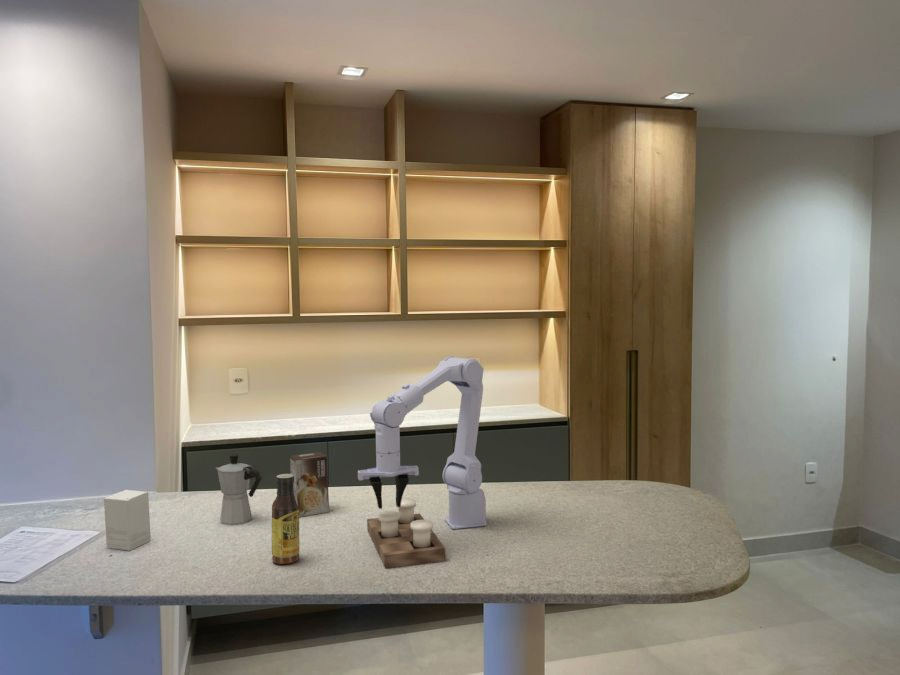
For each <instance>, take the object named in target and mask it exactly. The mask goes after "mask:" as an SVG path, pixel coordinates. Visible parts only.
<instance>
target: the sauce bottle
mask: <svg viewBox="0 0 900 675" xmlns="http://www.w3.org/2000/svg"><path fill="white" fill-rule="evenodd" d="M275 482H276V497H275V499H274V501H273V502H272V506H271V555H272V557H271V559H272V562H273V563H275V564H276V565H287V564H292V563H295V562H297V561H298V560H299V558H300V517H299V508H298V506H297V503H296V500H295V496H294V491H293V483H294V475H293V474H291V473H281V474H278V475H276V476H275Z"/></svg>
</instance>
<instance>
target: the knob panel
mask: <svg viewBox="0 0 900 675" xmlns="http://www.w3.org/2000/svg"><path fill="white" fill-rule="evenodd" d="M416 520H425V518H424V517H423V515H422V514H421V513H414V521H416ZM366 522H367V523H366V526H367V530H368V531H367V532H368V535H369V537H370V539H371V541H372V543H374V544H373V546H374V545H375V546H374V547H375V550H376V552H377V554H378V556H379V559H380V558H381V559H380V561H381V560H382V561H381V563H382V565H383V567H384V569H391V567H393V568H398V567H399V566H400V567H407V566H408V567H409V566H415V564H416V565H422V564H423V563H424V564H431V562H432V563H439V561H440V562H446V547H445V545H444V544H443V543H442V542H441V541H440V539H439V538H438V536H437V535H436V534H435V532H434V530H433V529H431V530H430V538H431V545H430V546H428V547H425V548H418V547H415V546H414V545H413V530H411V526H410V524H411V523H400V522H399V520H398V535H397V536H396V537H392V538H385V537H382V536H381V521H379V517H375V518H373V517H372V518H367V519H366ZM400 567H399V568H400Z"/></svg>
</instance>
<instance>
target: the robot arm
mask: <svg viewBox="0 0 900 675" xmlns="http://www.w3.org/2000/svg"><path fill="white" fill-rule="evenodd" d="M483 375H484V367H483V365H482V364H481V363H480V361H479V360H477V359H475V358H463V357H455V356H453V355H451V356H450V355H449V356H448V357H447V356H446V358H444V359H443V360H441V361H439V363H438V366H436V367H435V368H434V369H433V370H432V371H430V372H429V373H428V374H426V375H425V376H424V377H423V378H421V380H419V381H418V382H417V383H416V384H414V383H404V384H402V385H401V389H399V390H398V391H396V392H395V393H394V394H390V395H389V396H387V399H385V400H379V401H377V402H376V403H375V404H374V405H373V407H372V410H371V412H370V413H369V417H370V420H371V421H372V422H373V424H374V425H373V426H374V429H375V457H376V459H375V460H376V467H371V468H367V469H366V468H365V469H360V470H357V479H358V481H359V482H360V481H364V480H368V481H369V482H370V484H371V487H372V490H373V492H374V495H375V499H376V502H377V508H378V509H380V510H381V509H383V499H382V490H383V486H382V485H383V483H382V480H381V479H383V478H393V477H394V479H395V506H396V505H397V507H396V508H398V507H400V506H401V500H402V499H403V496H404V493H405V490H406V487H407V486H408V484H409V482H410V477H409V476H419V475H420V471H419V466H418V465H401V447H400V446H401V445H400V444H401V443H400V442H401V439H400V437H401V435H400V434H401V433H400V432H401V431H400V426H401V425H402V423H403V422H404V420H405V417H406V416H407V414H409V413H410V412H411V411H413V410H414V409H416V408H417V407H418V406H419V405H421V404H422V403H423V402H424V396H426V395H427V394H429V393H430V392H433V391H434V390H435V389H437V388H438V387H440V386H442V385H443V384H444V383H446V382H449V383H451V384H452V385H454V387H456V388H457V390H459V392H460V393H461V398H460V406H459V413H458V420H457V428H456V436H455V437H456V438H455V444H454V452H453V453H452V454H450V455H449V456H448V457H447V460H446V464H445V466H444V468H443V471H442V481H443V483H444V484H445V485H446V488H447V490H448V517H444V521H445V522H446V523H447V524H448V526H449V527H450V528H451V529H453V530H457V529H466V528H467V529H468V528H474V527H475V528H476V527H485V526H487V525H488V524H487V505H486V504H487V501H486V495H485V491H484V490H483V489H482V488H480V487H481V485H482V482H483V473H482V463H481V461H480V460H479V459H478V457H477V456H476V448H477V440H478V435H479V434H478V433H479V426H480V425H479V424H480V416H481V409H482V402H483V394H484V385H483Z"/></svg>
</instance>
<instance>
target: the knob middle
mask: <svg viewBox="0 0 900 675" xmlns="http://www.w3.org/2000/svg"><path fill="white" fill-rule="evenodd" d="M378 518H379V521H381V536H382V537H385V538H392V537H396V536H397V535H398V520H399V519H400V513H399V512H398V511H395V510H387V511H385V510H384V511H382V512H380V513H379V514H378Z"/></svg>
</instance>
